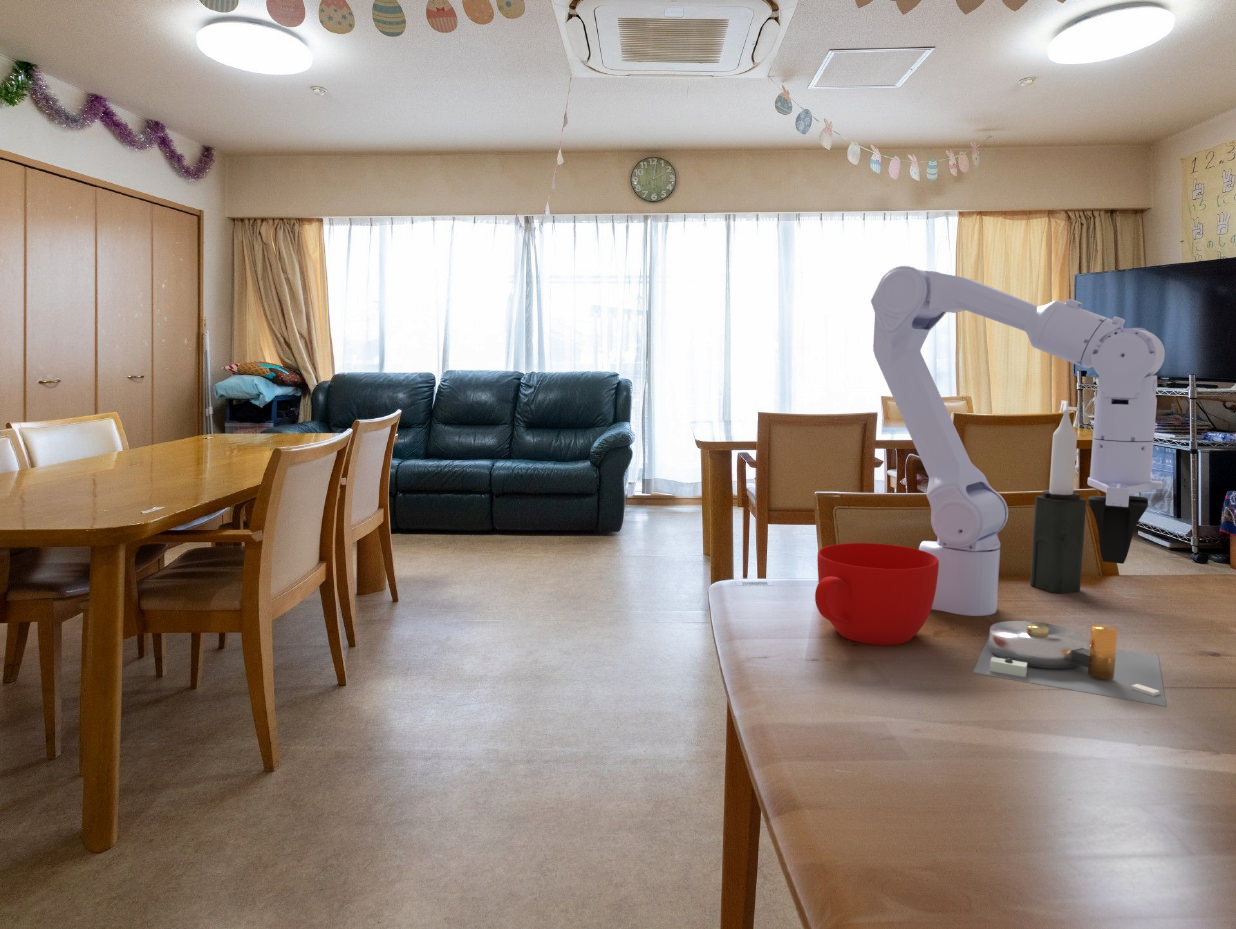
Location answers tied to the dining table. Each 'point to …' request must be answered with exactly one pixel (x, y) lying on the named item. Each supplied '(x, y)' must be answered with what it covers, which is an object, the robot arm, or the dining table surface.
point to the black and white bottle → (1059, 520)
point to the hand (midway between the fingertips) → (1113, 561)
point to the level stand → (1086, 676)
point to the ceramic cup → (876, 590)
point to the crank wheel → (1056, 646)
